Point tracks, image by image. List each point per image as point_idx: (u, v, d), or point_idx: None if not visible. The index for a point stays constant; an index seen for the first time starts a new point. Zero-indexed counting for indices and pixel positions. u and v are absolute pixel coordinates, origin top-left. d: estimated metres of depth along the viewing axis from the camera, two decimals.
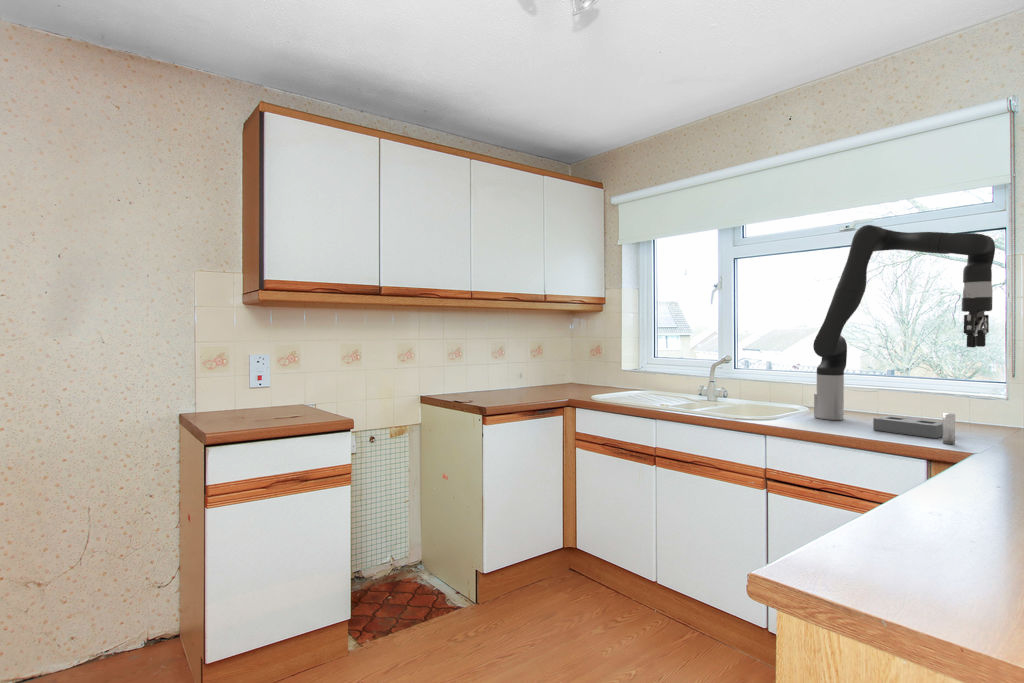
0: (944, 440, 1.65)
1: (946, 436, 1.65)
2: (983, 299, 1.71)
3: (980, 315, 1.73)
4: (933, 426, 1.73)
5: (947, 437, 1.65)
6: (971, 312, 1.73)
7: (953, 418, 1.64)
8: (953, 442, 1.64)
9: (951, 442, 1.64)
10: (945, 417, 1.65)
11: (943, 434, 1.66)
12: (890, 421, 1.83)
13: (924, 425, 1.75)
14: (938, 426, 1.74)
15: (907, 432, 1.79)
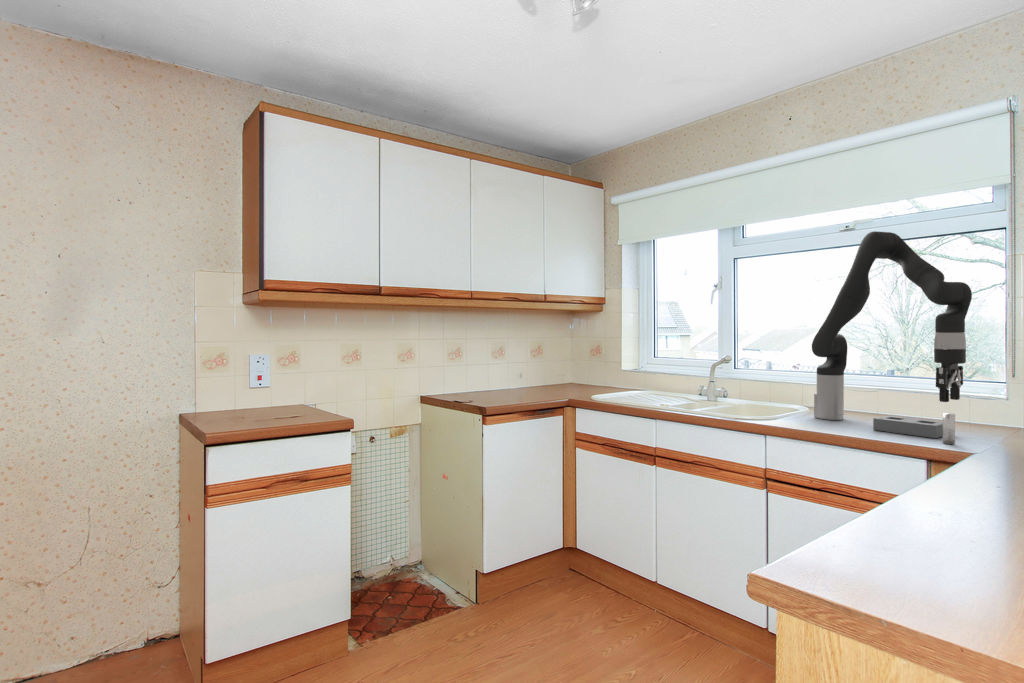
0: (944, 440, 1.65)
1: (946, 436, 1.65)
2: (956, 351, 1.61)
3: (953, 367, 1.64)
4: (933, 426, 1.73)
5: (947, 437, 1.65)
6: (944, 364, 1.63)
7: (953, 418, 1.64)
8: (953, 442, 1.64)
9: (951, 442, 1.64)
10: (945, 417, 1.65)
11: (943, 434, 1.66)
12: (890, 421, 1.83)
13: (924, 425, 1.75)
14: (938, 426, 1.74)
15: (907, 432, 1.79)
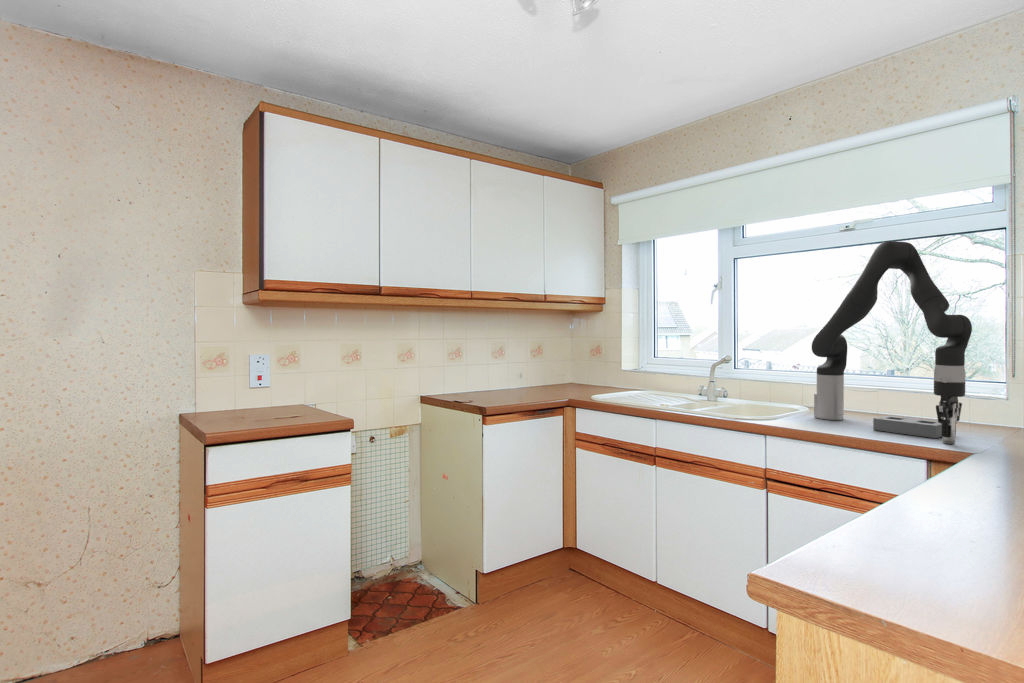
0: (944, 440, 1.65)
1: None
2: (955, 384, 1.62)
3: (953, 400, 1.64)
4: (933, 426, 1.73)
5: None
6: (943, 397, 1.63)
7: (953, 418, 1.64)
8: (953, 442, 1.64)
9: (951, 442, 1.64)
10: None
11: None
12: (890, 421, 1.83)
13: (924, 425, 1.75)
14: (938, 426, 1.74)
15: (907, 432, 1.79)
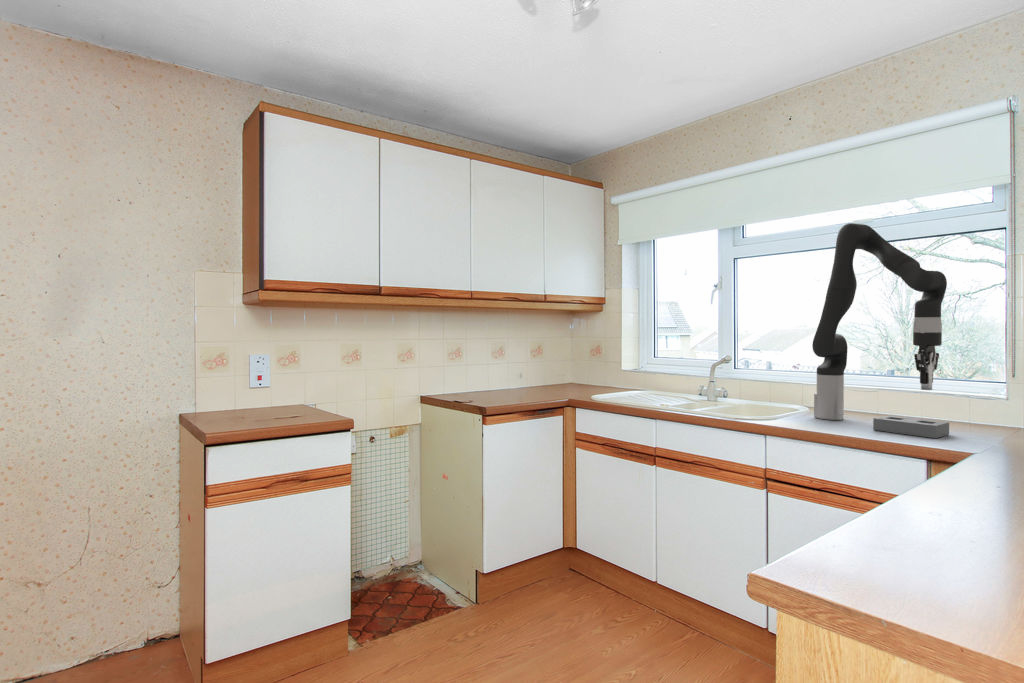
0: (922, 387, 1.79)
1: None
2: (932, 334, 1.75)
3: (930, 349, 1.78)
4: (933, 426, 1.73)
5: (925, 384, 1.78)
6: (921, 347, 1.77)
7: (930, 366, 1.78)
8: (930, 388, 1.78)
9: (928, 388, 1.78)
10: None
11: None
12: (890, 421, 1.83)
13: (924, 425, 1.75)
14: (938, 426, 1.74)
15: (907, 432, 1.79)
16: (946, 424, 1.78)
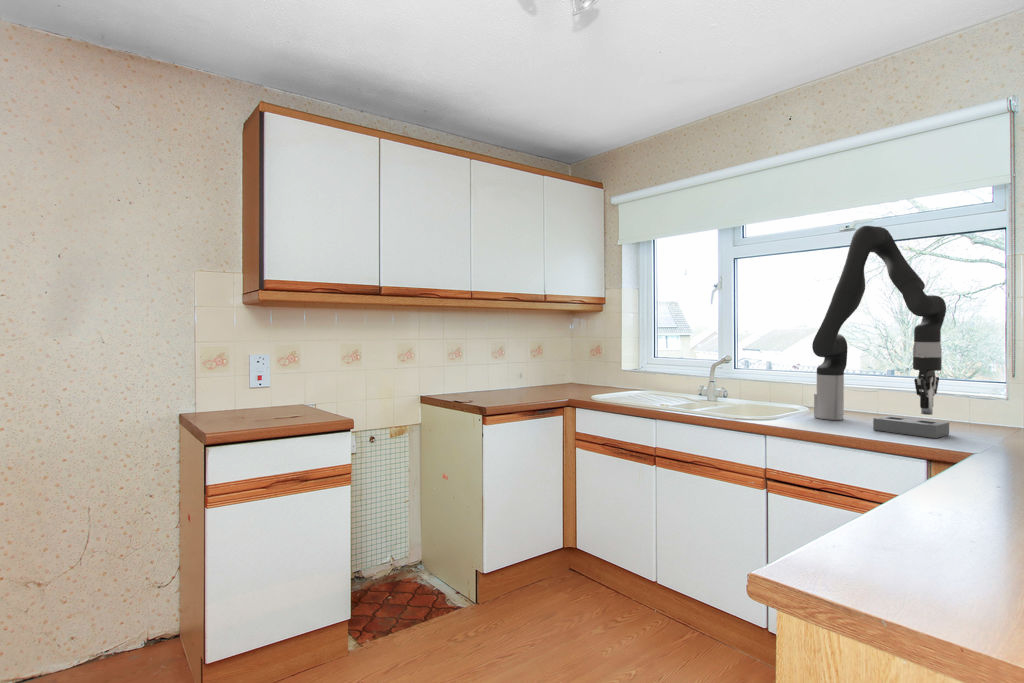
0: (923, 411, 1.79)
1: None
2: (932, 359, 1.76)
3: (930, 374, 1.78)
4: (933, 426, 1.73)
5: None
6: (921, 371, 1.77)
7: (931, 390, 1.78)
8: (931, 413, 1.78)
9: (929, 413, 1.78)
10: None
11: None
12: (890, 421, 1.83)
13: (924, 425, 1.75)
14: (938, 426, 1.74)
15: (907, 432, 1.79)
16: (946, 424, 1.78)
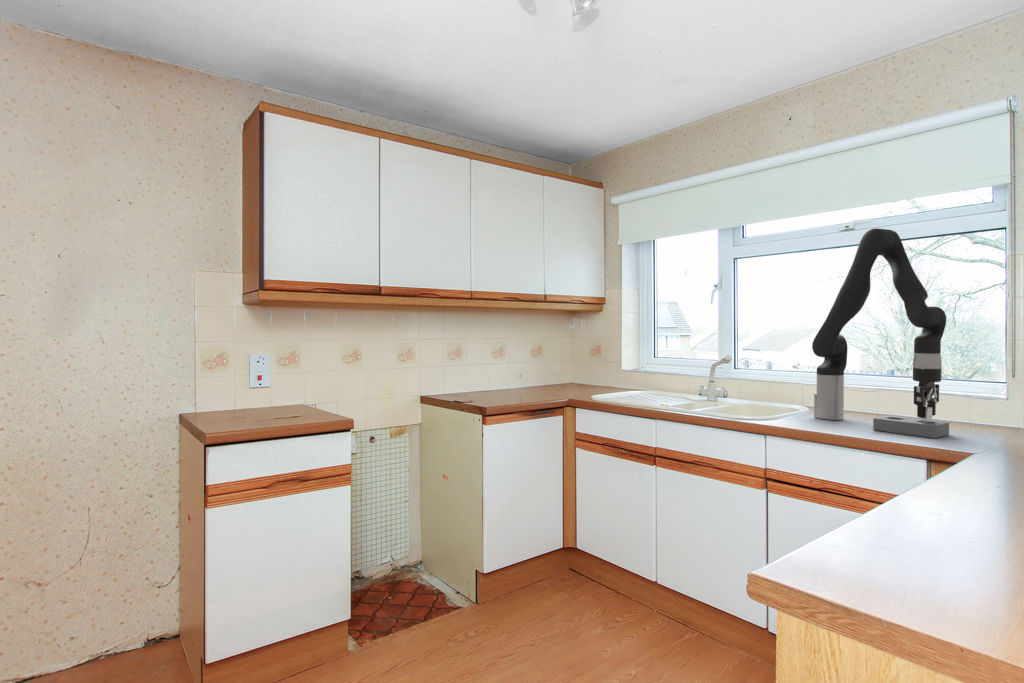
0: None
1: None
2: (932, 371, 1.76)
3: (930, 385, 1.78)
4: (933, 426, 1.73)
5: None
6: (921, 383, 1.77)
7: (930, 411, 1.78)
8: None
9: None
10: None
11: None
12: (890, 421, 1.83)
13: (924, 425, 1.75)
14: (938, 426, 1.74)
15: (907, 432, 1.79)
16: (946, 424, 1.78)
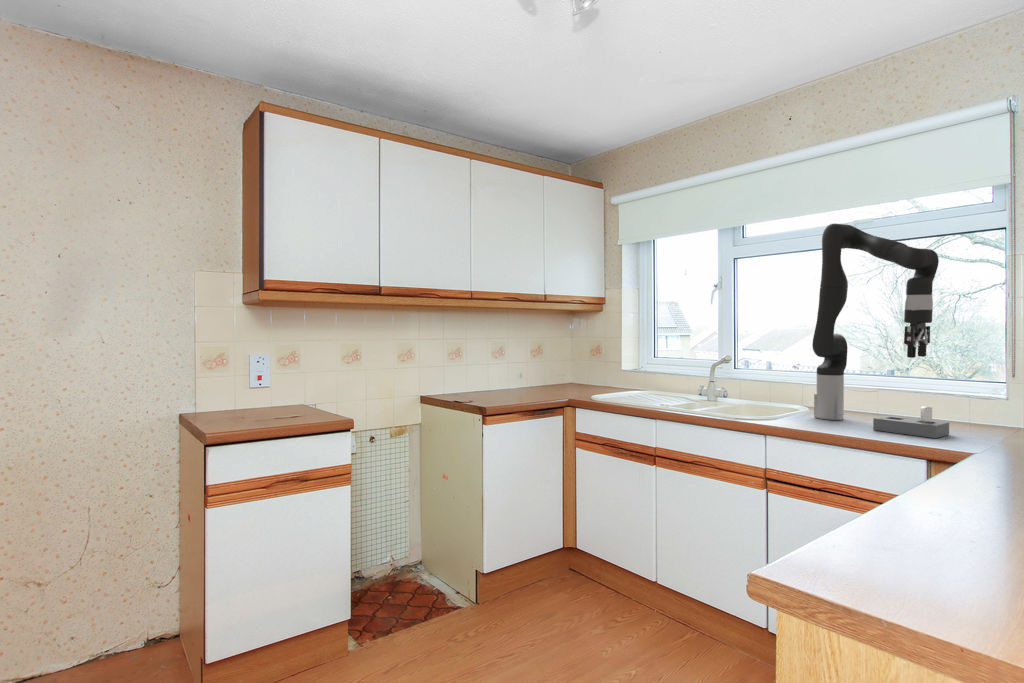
0: None
1: None
2: (923, 311, 1.78)
3: (921, 327, 1.81)
4: (933, 426, 1.73)
5: None
6: (912, 324, 1.80)
7: (930, 411, 1.78)
8: None
9: None
10: (923, 410, 1.79)
11: None
12: (890, 421, 1.83)
13: (924, 425, 1.75)
14: (938, 426, 1.74)
15: (907, 432, 1.79)
16: (946, 424, 1.78)
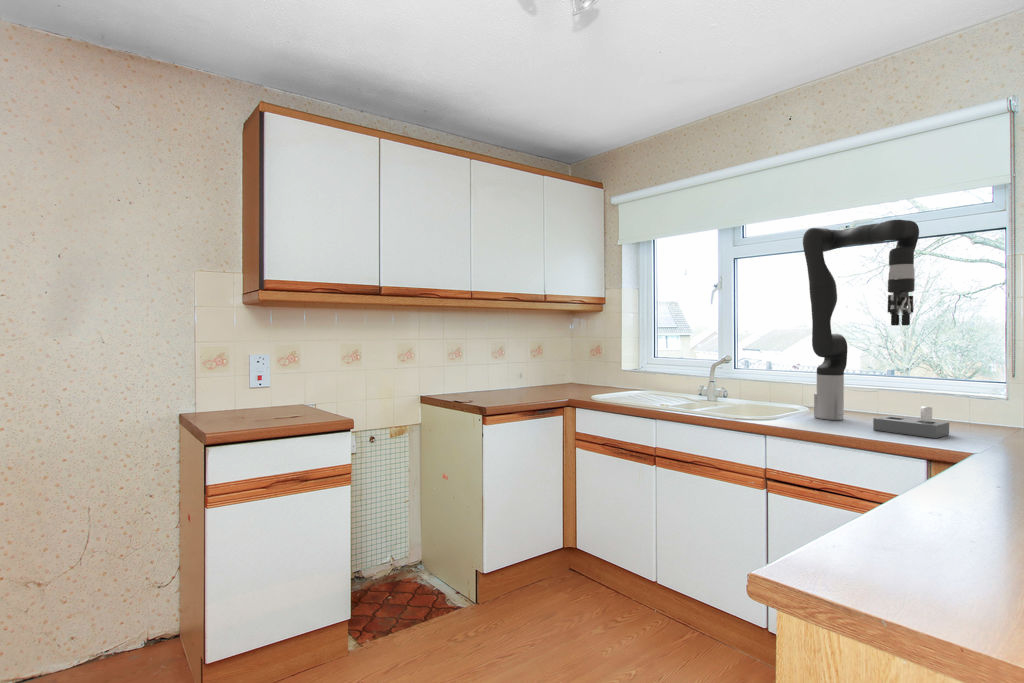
0: None
1: None
2: (905, 280, 1.83)
3: (904, 295, 1.86)
4: (933, 426, 1.73)
5: None
6: (895, 292, 1.85)
7: (930, 411, 1.78)
8: None
9: None
10: (923, 410, 1.79)
11: None
12: (890, 421, 1.83)
13: (924, 425, 1.75)
14: (938, 426, 1.74)
15: (907, 432, 1.79)
16: (946, 424, 1.78)
